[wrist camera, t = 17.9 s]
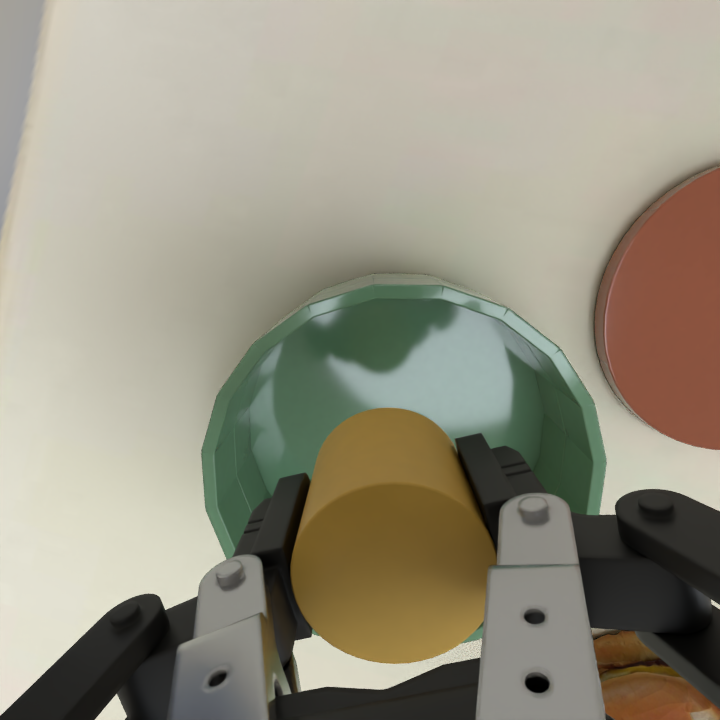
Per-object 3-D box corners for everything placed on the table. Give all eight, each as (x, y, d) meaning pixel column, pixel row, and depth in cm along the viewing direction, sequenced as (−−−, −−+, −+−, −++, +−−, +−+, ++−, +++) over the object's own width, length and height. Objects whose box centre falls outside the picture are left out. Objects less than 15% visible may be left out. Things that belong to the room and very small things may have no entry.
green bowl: (363, 204, 22) (360, 191, 16) (614, 399, 24) (692, 451, 18) (186, 453, 25) (129, 518, 19) (419, 608, 27) (432, 711, 21)
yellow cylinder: (373, 377, 13) (373, 441, 9) (491, 463, 14) (544, 561, 10) (286, 488, 14) (249, 594, 10) (400, 565, 15) (412, 697, 11)
